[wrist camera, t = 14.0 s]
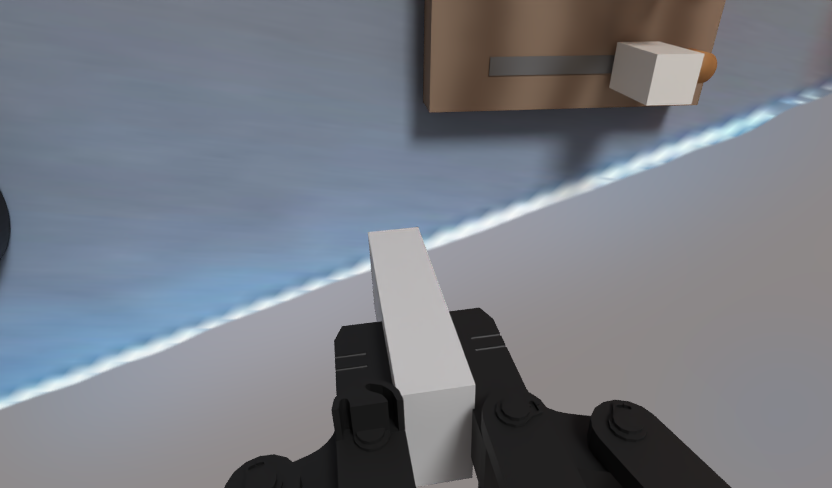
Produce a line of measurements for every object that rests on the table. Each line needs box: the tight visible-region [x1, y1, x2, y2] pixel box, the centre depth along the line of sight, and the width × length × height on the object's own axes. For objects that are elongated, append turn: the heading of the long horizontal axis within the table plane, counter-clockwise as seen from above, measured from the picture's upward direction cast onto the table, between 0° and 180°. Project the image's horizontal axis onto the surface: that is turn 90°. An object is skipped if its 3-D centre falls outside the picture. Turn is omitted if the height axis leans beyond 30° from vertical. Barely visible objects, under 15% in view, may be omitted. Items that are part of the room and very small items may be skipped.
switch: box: [609, 41, 704, 106], centre depth 34 cm, size 3×3×5 cm
